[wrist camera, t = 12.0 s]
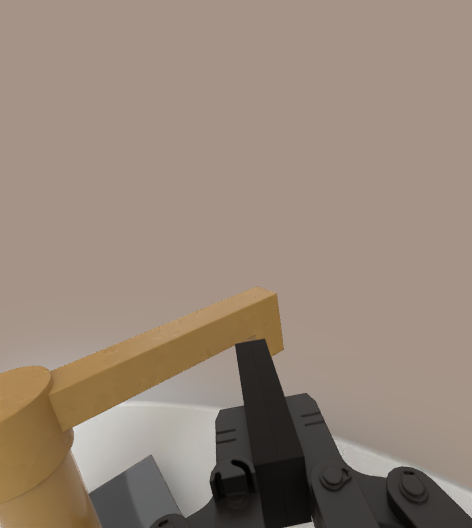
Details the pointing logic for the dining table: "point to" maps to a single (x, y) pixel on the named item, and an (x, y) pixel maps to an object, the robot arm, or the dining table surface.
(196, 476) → the dining table surface
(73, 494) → the faucet base
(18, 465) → the spout
